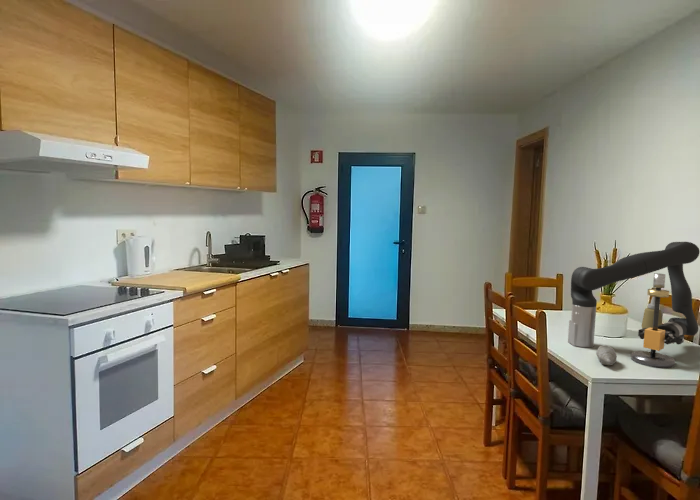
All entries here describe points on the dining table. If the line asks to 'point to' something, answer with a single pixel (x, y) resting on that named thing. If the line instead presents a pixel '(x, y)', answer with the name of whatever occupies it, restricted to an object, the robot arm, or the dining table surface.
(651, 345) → the sleeve
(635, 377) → the dining table surface
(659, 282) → the post
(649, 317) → the squeeze bottle
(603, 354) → the grey stone
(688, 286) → the robot arm
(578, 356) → the dining table surface
